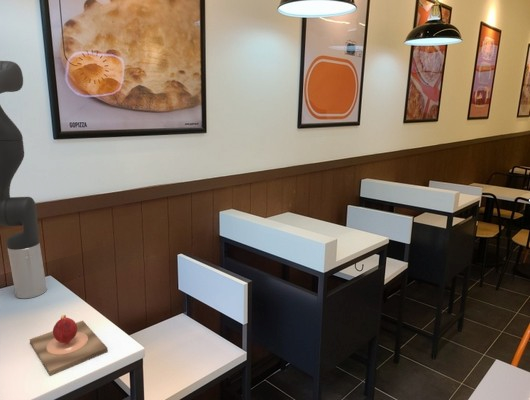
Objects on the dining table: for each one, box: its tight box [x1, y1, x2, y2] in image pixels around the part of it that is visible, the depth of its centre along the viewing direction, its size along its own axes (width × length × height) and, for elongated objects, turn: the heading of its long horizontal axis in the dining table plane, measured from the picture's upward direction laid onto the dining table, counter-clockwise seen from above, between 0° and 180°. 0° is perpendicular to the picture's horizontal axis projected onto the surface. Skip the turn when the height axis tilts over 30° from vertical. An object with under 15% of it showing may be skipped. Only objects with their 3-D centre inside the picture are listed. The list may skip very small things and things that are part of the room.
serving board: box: [29, 320, 109, 377], centre depth 110 cm, size 18×14×1 cm
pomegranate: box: [52, 314, 78, 343], centre depth 108 cm, size 6×6×8 cm
